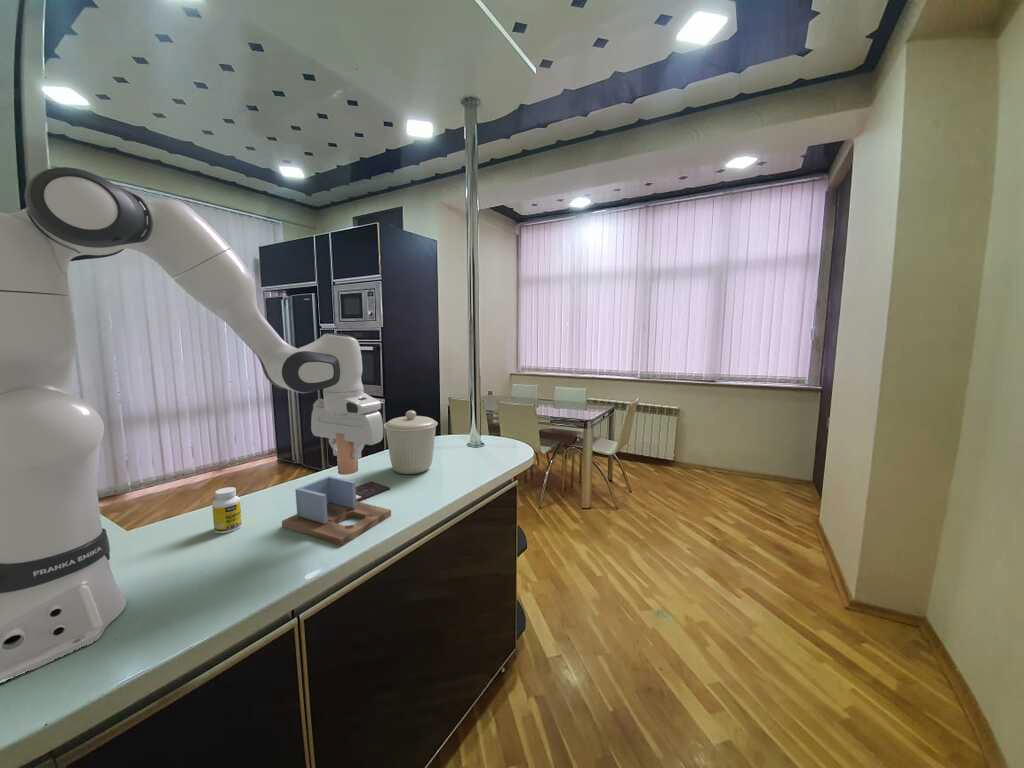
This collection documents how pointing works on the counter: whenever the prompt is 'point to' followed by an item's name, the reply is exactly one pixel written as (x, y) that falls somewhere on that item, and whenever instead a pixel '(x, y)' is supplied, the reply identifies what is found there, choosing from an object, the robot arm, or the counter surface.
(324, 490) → the housing
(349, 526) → the socket board
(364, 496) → the chocolate bar
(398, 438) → the canister
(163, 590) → the counter surface
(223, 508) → the supplement bottle
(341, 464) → the peg
